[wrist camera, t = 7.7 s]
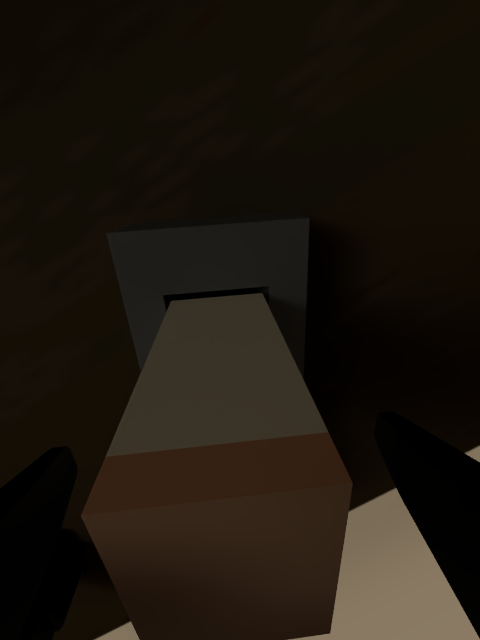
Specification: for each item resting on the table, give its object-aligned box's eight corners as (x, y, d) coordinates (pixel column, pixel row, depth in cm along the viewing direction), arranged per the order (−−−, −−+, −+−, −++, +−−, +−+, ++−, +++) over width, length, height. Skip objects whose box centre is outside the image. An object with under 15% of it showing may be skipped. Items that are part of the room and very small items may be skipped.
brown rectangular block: (187, 392, 14) (149, 659, 6) (171, 300, 12) (80, 515, 4) (265, 384, 14) (329, 633, 6) (262, 293, 12) (353, 482, 4)
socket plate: (191, 499, 24) (186, 554, 20) (133, 223, 14) (106, 232, 11) (285, 487, 24) (297, 540, 20) (286, 212, 15) (309, 217, 11)
